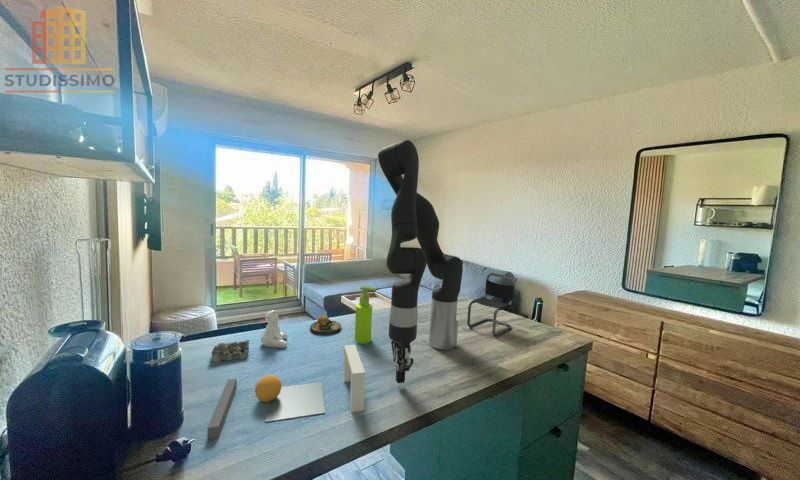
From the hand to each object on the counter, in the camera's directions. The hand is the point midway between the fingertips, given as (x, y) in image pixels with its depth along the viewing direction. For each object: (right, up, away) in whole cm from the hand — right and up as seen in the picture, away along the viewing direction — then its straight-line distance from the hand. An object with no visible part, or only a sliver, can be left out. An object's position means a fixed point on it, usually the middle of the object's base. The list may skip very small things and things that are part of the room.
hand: (400, 381), depth 84 cm
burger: (-30, +3, +37) cm, 47 cm away
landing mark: (-26, -1, -8) cm, 27 cm away
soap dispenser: (-13, +2, +28) cm, 31 cm away
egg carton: (-53, +2, +12) cm, 55 cm away
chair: (+39, +1, +47) cm, 61 cm away
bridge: (-12, -1, -4) cm, 13 cm away
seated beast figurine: (-44, +3, +22) cm, 49 cm away
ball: (-33, +2, -9) cm, 34 cm away
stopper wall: (-41, -1, -13) cm, 43 cm away
